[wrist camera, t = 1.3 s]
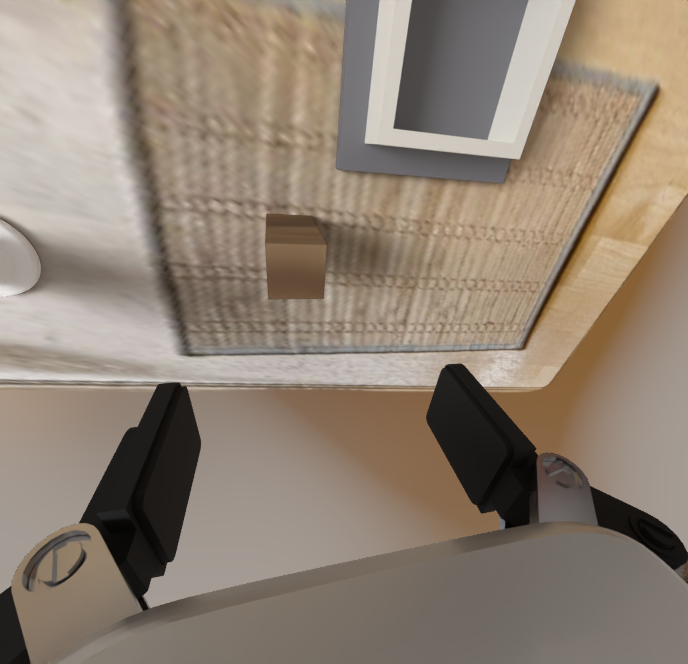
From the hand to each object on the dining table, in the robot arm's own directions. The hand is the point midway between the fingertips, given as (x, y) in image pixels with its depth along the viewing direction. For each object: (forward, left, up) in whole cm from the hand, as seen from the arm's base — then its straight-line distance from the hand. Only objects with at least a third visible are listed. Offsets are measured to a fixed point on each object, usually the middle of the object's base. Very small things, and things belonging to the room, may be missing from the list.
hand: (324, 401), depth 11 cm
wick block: (0, 0, -21) cm, 21 cm away
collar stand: (-14, +12, -21) cm, 28 cm away
